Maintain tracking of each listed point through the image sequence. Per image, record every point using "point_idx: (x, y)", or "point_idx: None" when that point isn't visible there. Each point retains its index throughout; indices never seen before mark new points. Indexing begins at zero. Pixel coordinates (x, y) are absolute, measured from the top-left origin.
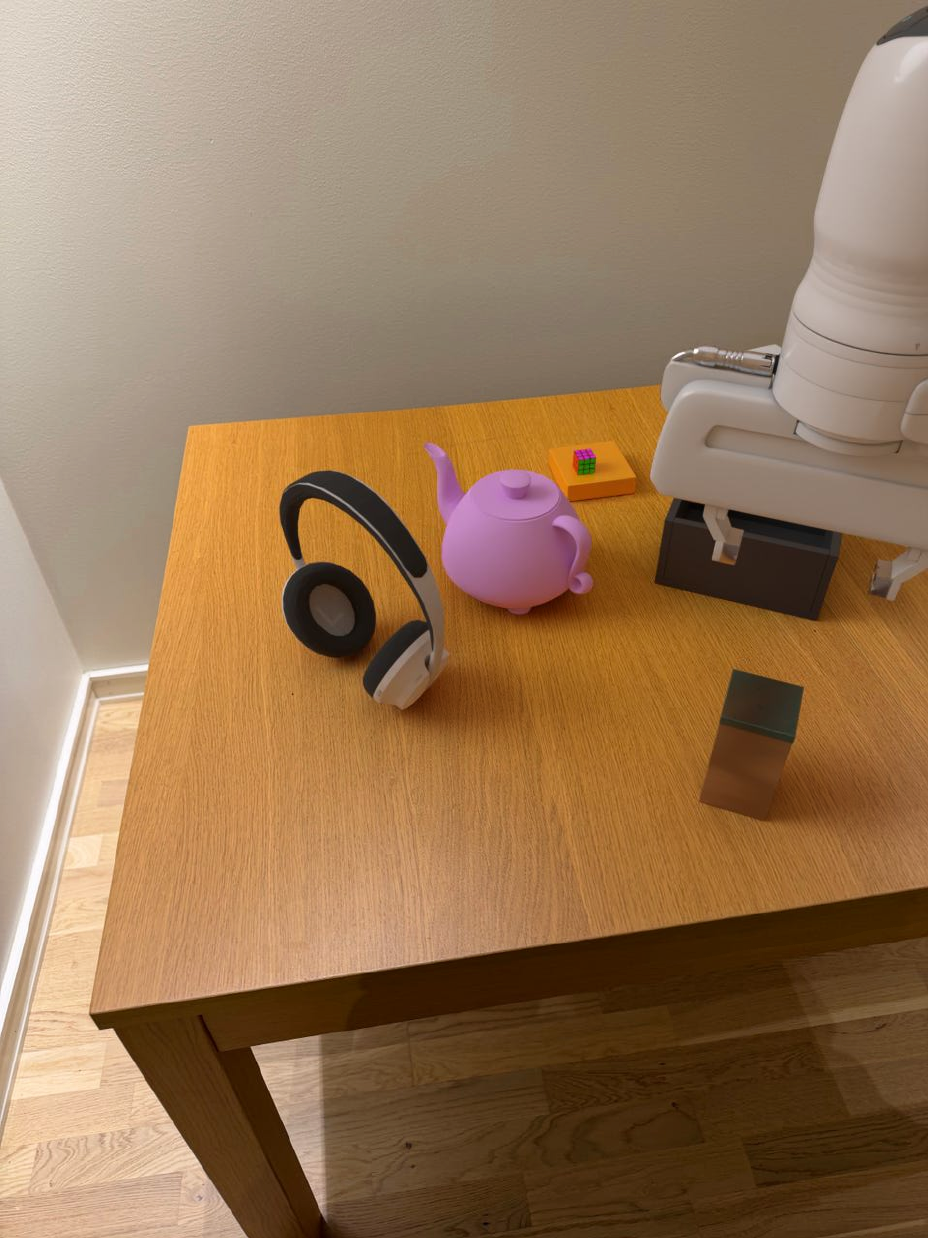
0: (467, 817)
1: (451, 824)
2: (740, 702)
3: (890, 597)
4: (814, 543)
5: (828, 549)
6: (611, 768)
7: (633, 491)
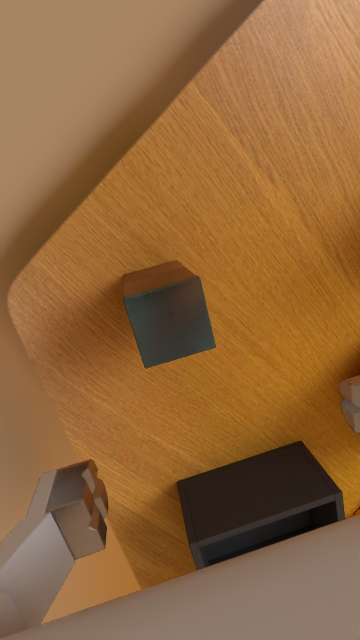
0: (328, 125)
1: (337, 109)
2: (190, 308)
3: (47, 475)
4: (211, 549)
5: (200, 548)
6: (249, 247)
7: (355, 514)
